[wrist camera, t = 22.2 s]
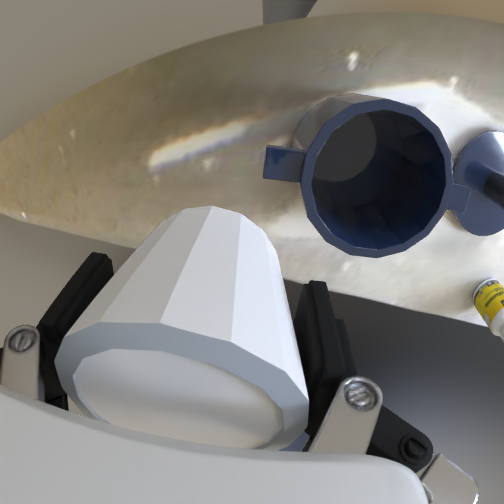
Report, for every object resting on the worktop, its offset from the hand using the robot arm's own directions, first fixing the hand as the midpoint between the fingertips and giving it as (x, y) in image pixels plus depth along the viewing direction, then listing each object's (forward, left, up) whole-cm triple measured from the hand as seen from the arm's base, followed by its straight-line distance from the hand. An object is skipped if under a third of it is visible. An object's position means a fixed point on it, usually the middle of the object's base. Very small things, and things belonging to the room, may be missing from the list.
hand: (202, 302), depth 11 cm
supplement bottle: (+13, +38, -23) cm, 46 cm away
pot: (-2, +11, -22) cm, 25 cm away
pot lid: (-3, +30, -22) cm, 37 cm away
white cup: (0, 0, -2) cm, 2 cm away
